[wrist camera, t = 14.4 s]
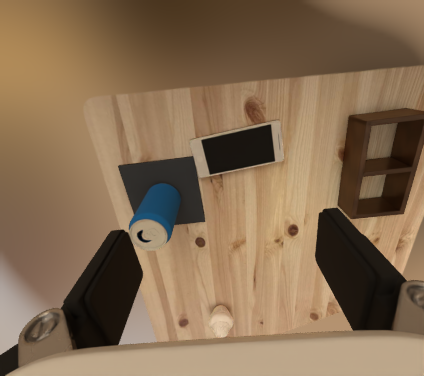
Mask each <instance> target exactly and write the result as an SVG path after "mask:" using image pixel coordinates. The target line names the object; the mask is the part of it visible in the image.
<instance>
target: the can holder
mask: <svg viewBox="0 0 424 376" xmlns="http://www.w3.org/2000/svg"><path fill="white" fill-rule="evenodd" d="M390 123H398V126H397V130H396V135H395V139H394V144H393V148H392V153H391V157H386V158H378V159H369V160H366V155H367V149H368V143H369V138H370V132H371V126H374V125H382V124H390ZM423 145H424V111H420V110H414V109H408V108H404V109H397V110H389V111H382V112H374V113H366V114H359V115H351V116H349V120H348V128H347V136H346V144H345V151H344V159H343V167H342V175H341V182H340V190H339V198H338V206H339V207H340V208H341V209H342V210H343V211H344V212H345V213H346V214H347V216H348V217H349V218H350V219H358V218H368V217H378V216H388V215H398V214H404V212H405V208H406V205H407V201H408V198H409V194H410V191H411V187H412V184H413V180H414V177H415V173H416V170H417V166H418V162H419V159H420V155H421V152H422V148H423ZM384 174H387V175H386V179H385V184H384V188H383V193H382V197H379V198H369V199H360V200H359V195H360V189H361V183H362V178H363V177H366V176H375V175H384Z"/></svg>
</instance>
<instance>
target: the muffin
mask: <svg viewBox="0 0 424 376" xmlns="http://www.w3.org/2000/svg"><path fill="white" fill-rule="evenodd" d="M233 323H234V321H233V318H232V317H231V314H230V312H229V311H228V309H227V308H226V307H225V306H223V305H219V306H216V307H215V308H214V310H213V312H212V314H211V316H210V319H209V326H210V327H211V329H212V330H213V331H214V334H215V335H216V336H217V337H219V338H220V337H221V338H222V337H223V338H224V337H226V336H227V335H228V333H229V330H230V329H231V328H232V326H233Z"/></svg>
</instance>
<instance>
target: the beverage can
mask: <svg viewBox="0 0 424 376" xmlns="http://www.w3.org/2000/svg"><path fill="white" fill-rule="evenodd" d="M180 202H181V198H180V194H179V192H178V191H177V190H176V189H175V188H174V187H173V186H171V185H168V184H164V183H160V184H156V185H154V186H152V187H151V188H150V189H149V190H148V192H147V194H146V196H145V197H144V199H143V201H142V202H141V204H140V206H139V208H138V209H137V211H136V213H135V214H134V216H133V218H132V220H131V221H130V224H129V235H130V238H131V241H132V242H133V244H134V245H136V246H137V247H139V248H141V249H143V250H148V251H153V250H158V249H160V248H162V247H163V246H164V245H165V244H166V243H167V242H168V241H169V240H170V238H171V235H172V231H173V228H174V224H175V221H176V217H177V213H178V210H179V206H180Z"/></svg>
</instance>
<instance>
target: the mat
mask: <svg viewBox="0 0 424 376" xmlns="http://www.w3.org/2000/svg"><path fill="white" fill-rule="evenodd" d="M118 168H119V171H120V174H121V177H122V180H123V183H124V186H125V189H126V192H127V195H128V197H129V200H130V203H131V206H132V209H133V212H134V214H135V213H136V211H137V209H138V208H139V206H140V204H141V202H142V201H143V199H144V197H145V196H146V194H147V192H148V190H149V189H150V188H151V187H152V186H154V185H156V184H160V183H164V184H168V185H171V186H173V187H174V188H175V189H176V190H177V191H178V192H179V194H180V198H181V202H180V206H179V210H178V213H177V217H176V221H175V224H174V225H179V224H188V223H198V222H205V217H204V211H203V206H202V200H201V194H200V189H199V183H198V177H197V172H196V166H195V161H194V157H193V156H192V157H184V158H176V159H168V160H160V161H152V162H144V163H136V164H128V165H120V166H118Z"/></svg>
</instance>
